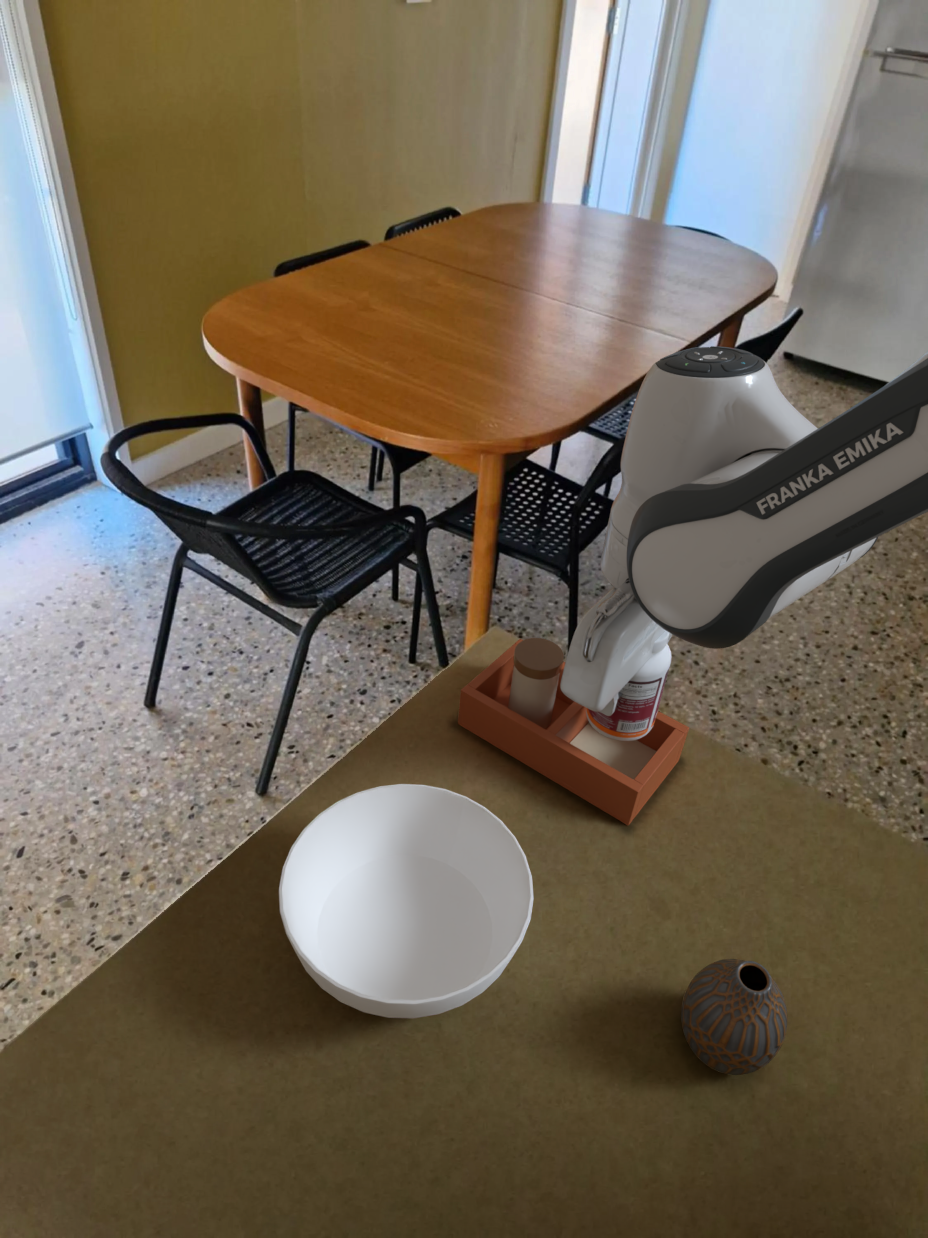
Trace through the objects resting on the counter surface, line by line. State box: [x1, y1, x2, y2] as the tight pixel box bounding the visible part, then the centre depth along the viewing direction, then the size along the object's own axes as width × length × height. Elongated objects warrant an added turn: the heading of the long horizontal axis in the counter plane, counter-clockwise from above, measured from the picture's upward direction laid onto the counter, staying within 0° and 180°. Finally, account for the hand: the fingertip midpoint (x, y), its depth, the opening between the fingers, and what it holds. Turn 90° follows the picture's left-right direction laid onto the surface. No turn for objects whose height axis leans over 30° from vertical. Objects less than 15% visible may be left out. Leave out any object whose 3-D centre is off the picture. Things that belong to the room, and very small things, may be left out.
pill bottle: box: [586, 631, 672, 741], centre depth 76 cm, size 6×6×11 cm
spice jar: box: [508, 637, 565, 729], centre depth 84 cm, size 5×5×8 cm
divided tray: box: [457, 638, 690, 826], centre depth 84 cm, size 10×19×5 cm, turn 53°
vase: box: [680, 958, 788, 1076], centre depth 61 cm, size 7×7×9 cm
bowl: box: [278, 783, 535, 1019], centre depth 66 cm, size 18×18×7 cm
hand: (627, 684), depth 77 cm, fingers closed on pill bottle, 6 cm apart
